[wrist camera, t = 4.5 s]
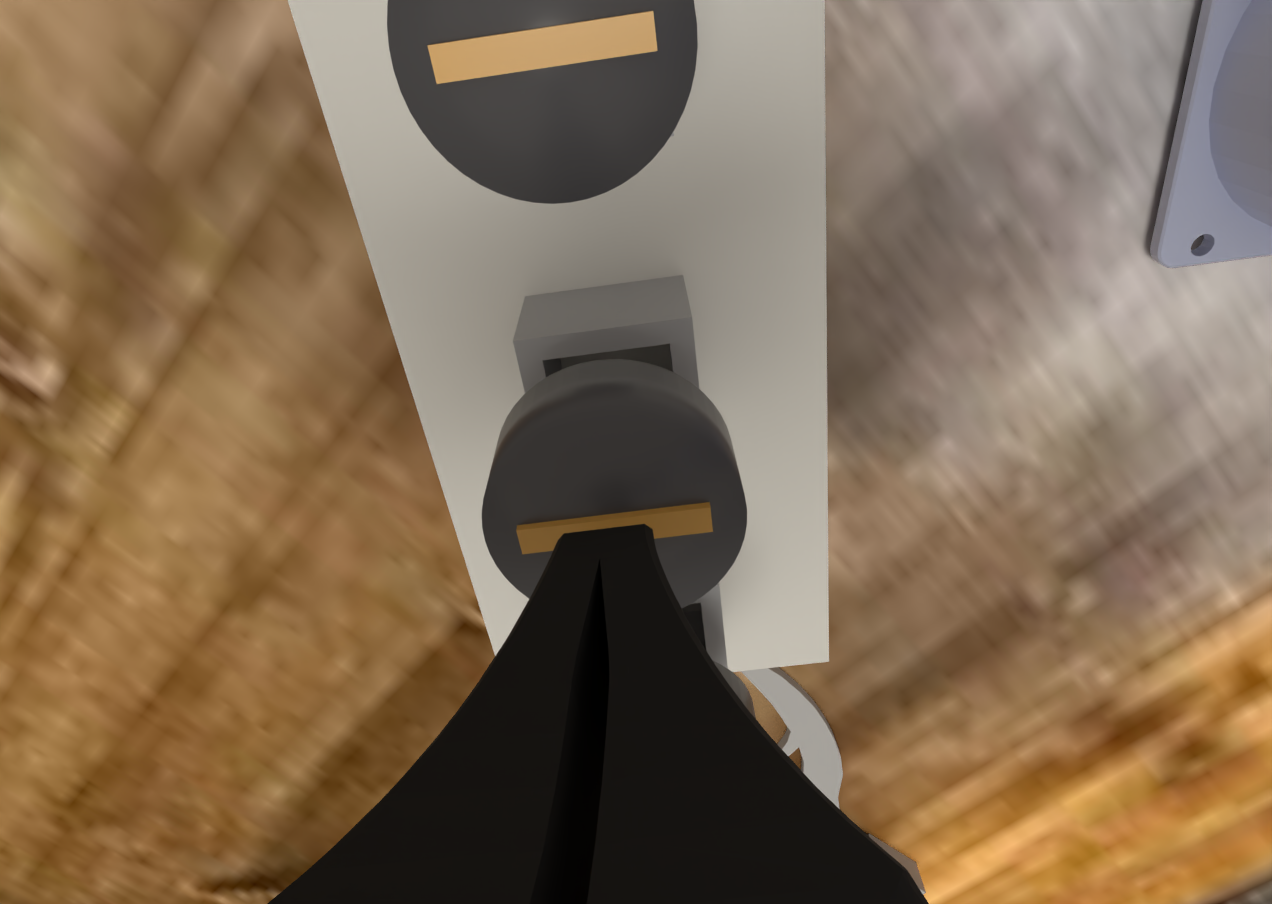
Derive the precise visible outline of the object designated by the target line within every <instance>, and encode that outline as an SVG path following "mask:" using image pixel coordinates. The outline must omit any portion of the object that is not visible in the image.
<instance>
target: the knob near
mask: <svg viewBox="0 0 1272 904" xmlns="http://www.w3.org/2000/svg"><path fill="white" fill-rule="evenodd" d="M387 32H388V43H389V51H390V56H391V60H392V65H393V70H394V73H395V76H396V79H397V82H398V85H399V88H400V91H401V94H402V96H403V98H404V100H405V102H406V105H407V107H408V109H409V111H410V113H411V115H412V116H413V118H414V120H415V121H416V123H417V125H418V126H419V128H420V129H421V131H422V132H423V134H424V135H425V136H426V137H427V139H428V140H429V141H430V143H431V144H432V145H433V147H434V148H435V149H436V150H437V151H438V152H439V153H440V154H441V155H442V156H443V157H444V158H445V159H446V160H447V161H448V162H449V163H450V164H452V165H453V166H454V167H455V168H456V169H458V170H459V171H460V172H461V173H463V174H464V175H465V176H467V177H469V178H470V179H472V180H473V181H475V182H476V183H478V184H480V185H481V186H483V187H486V188H488V189H490V190H492V191H494V192H496V193H498V194H501V195H504V196H508V197H511V198H514V199H517V200H522V201H528V202H533V203H546V204H557V203H571V202H576V201H580V200H585V199H589V198H592V197H595V196H598V195H601V194H603V193H606V192H608V191H610V190H612V189H614V188H616V187H618V186H620V185H622V184H623V183H625V182H626V181H627V180H629V179H630V178H632V177H633V176H635V175H636V174H637V173H639V172H640V171H641V170H642V169H643V168H644V167H645V166H646V165H647V164H648V163H650V162H651V161H652V160H653V158H654V157H655V156H656V155H657V154H658V152H659V151H660V150H661V149H662V148H663V147H664V145H665V144H666V142H667V141H668V139H669V138H670V136H671V134H672V133H673V131H674V130H675V128H676V126H677V124H678V122H679V120H680V118H681V116H682V114H683V112H684V109H685V106H686V103H687V101H688V98H689V95H690V92H691V88H692V83H693V79H694V74H695V69H696V59H697V49H698V40H697V20H696V12H695V5H694V0H388V5H387Z"/></svg>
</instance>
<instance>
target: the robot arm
mask: <svg viewBox="0 0 1272 904" xmlns="http://www.w3.org/2000/svg"><path fill="white" fill-rule="evenodd" d="M1201 235H1204V239H1203V241H1202V243H1201V245H1200V246H1198V247H1197V248H1196V249H1194V250H1191V246H1192V244H1193V242H1194V240H1195V239H1197V238H1198V237H1199V236H1201ZM1150 254H1151V256H1152V258H1153V260H1154V261H1156V262H1158V263H1160V264H1161V265H1163V266H1165V267H1167V268H1178V267H1186V266H1194V265H1201V264H1209V263H1216V262H1224V261H1232V260H1239V259H1247V258H1254V257H1262V256H1270V255H1272V0H1203V1H1202V6H1201V11H1200V16H1199V20H1198V25H1197V30H1196V34H1195V39H1194V44H1193V49H1192V53H1191V58H1190V63H1189V67H1188V72H1187V77H1186V82H1185V86H1184V91H1183V96H1182V100H1181V105H1180V110H1179V115H1178V119H1177V124H1176V129H1175V133H1174V138H1173V143H1172V148H1171V152H1170V157H1169V162H1168V166H1167V171H1166V176H1165V181H1164V185H1163V190H1162V195H1161V199H1160V204H1159V209H1158V214H1157V218H1156V223H1155V228H1154V232H1153V237H1152V242H1151V247H1150ZM268 904H928V902H927V900H926V899H925V897H924V896H923V894H922V892H921V891H920V889H919V888H918V886H917V884H916V883H915V881H914V880H913V878H912V876H911V875H910V873H909V872H908V870H907V869H906V868H905V867H904V866H902V865H901V864H900V863H899V862H898V861H897V860H896V859H894V858H893V857H892V856H891V855H890V854H889V853H887V852H886V851H885V850H884V849H883V848H882V847H880V846H879V845H878V844H877V843H876V842H875V841H873V840H872V839H871V838H870V837H869V836H868V835H867V834H866V833H865V832H863V831H862V830H861V829H860V828H859V827H858V826H857V825H856V824H855V823H854V822H852V821H851V820H850V819H849V818H848V817H847V816H846V815H845V814H844V813H843V812H842V811H841V810H840V809H839V808H838V807H837V806H836V805H835V804H834V803H833V802H832V801H831V800H830V799H828V798H827V797H826V796H825V795H824V794H823V793H822V792H821V791H820V790H819V789H818V788H817V787H816V786H815V785H814V784H813V783H812V782H811V781H810V780H809V778H808V777H807V776H806V775H805V774H804V773H803V772H802V771H801V770H800V769H799V768H798V766H797V765H796V764H795V763H794V762H793V761H792V760H791V759H790V758H789V757H788V756H787V754H786V753H785V752H784V751H783V750H782V749H781V748H780V747H779V746H778V745H777V744H776V743H775V741H774V740H773V739H772V738H771V737H770V736H769V735H768V734H767V732H766V731H765V730H764V729H763V727H762V726H761V725H760V724H759V723H758V721H757V720H756V719H755V718H754V716H753V715H752V714H751V713H750V711H749V710H748V709H747V708H746V707H745V705H744V704H743V703H742V701H741V700H740V699H739V697H738V696H737V695H736V693H735V692H734V691H733V689H732V688H731V687H730V685H729V684H728V682H727V681H726V680H725V678H724V677H723V675H722V674H721V672H720V671H719V670H718V668H717V667H716V665H715V664H714V662H713V661H712V659H711V657H710V656H709V654H708V653H707V651H706V650H705V648H704V646H703V645H702V643H701V642H700V640H699V638H698V637H697V635H696V633H695V632H694V630H693V628H692V627H691V625H690V623H689V621H688V619H687V618H686V616H685V614H684V612H683V610H682V608H681V606H680V604H679V602H678V600H677V599H676V597H675V595H674V593H673V591H672V588H671V586H670V584H669V582H668V580H667V577H666V575H665V572H664V570H663V568H662V565H661V562H660V560H659V557H658V554H657V550H656V547H655V541H654V534H653V529H652V528H650V527H649V526H647V525H646V524H638V525H630V526H621V527H613V528H605V529H596V530H588V531H580V532H572V533H564V534H563V535H562V536H561V537H560V538H559V539H558V541H557V543H556V545H555V548H554V550H553V552H552V555H551V557H550V559H549V561H548V563H547V565H546V567H545V570H544V572H543V574H542V576H541V578H540V580H539V582H538V583H537V585H536V587H535V589H534V591H533V593H532V595H531V597H530V599H529V601H528V602H527V604H526V606H525V608H524V609H523V611H522V613H521V615H520V616H519V618H518V620H517V622H516V623H515V625H514V627H513V629H512V631H511V632H510V634H509V636H508V637H507V639H506V641H505V642H504V644H503V645H502V647H501V648H500V650H499V651H498V653H497V654H496V656H495V658H494V659H493V661H492V662H491V664H490V665H489V667H488V668H487V670H486V671H485V673H484V674H483V676H482V677H481V679H480V681H479V682H478V683H477V685H476V686H475V688H474V689H473V690H472V692H471V693H470V695H469V696H468V697H467V699H466V700H465V702H464V703H463V704H462V706H461V707H460V708H459V710H458V711H457V712H456V714H455V715H454V716H453V717H452V719H451V720H450V721H449V723H448V724H447V725H446V726H445V728H444V729H443V730H442V731H441V733H440V734H439V735H438V736H437V738H436V739H435V740H434V741H433V742H432V744H431V745H430V746H429V747H428V748H427V749H426V751H425V752H424V753H423V754H422V755H421V756H420V758H419V759H418V760H417V761H416V762H415V763H414V764H413V766H412V767H411V768H410V769H409V770H408V771H407V773H406V774H405V775H404V776H403V777H402V778H401V779H400V780H399V781H398V783H397V784H396V785H395V786H394V787H393V788H392V789H391V790H390V791H389V792H388V793H387V794H386V795H385V796H384V798H383V799H382V800H381V801H380V802H379V803H378V804H377V805H376V806H375V807H374V808H373V809H372V810H371V811H369V812H368V813H367V814H366V815H365V816H364V817H363V818H362V819H361V820H360V821H359V822H358V823H357V824H356V825H355V826H354V827H353V828H352V829H351V830H350V831H349V832H348V833H347V834H346V835H345V836H344V837H343V838H342V839H341V840H340V841H339V842H338V843H337V844H336V845H335V846H334V847H333V848H332V849H331V850H329V851H328V852H327V853H326V854H325V855H324V856H323V857H322V858H321V859H320V860H318V861H317V862H316V863H315V864H314V865H313V866H312V867H311V868H309V869H308V870H307V871H306V872H305V873H304V874H303V875H301V876H300V877H299V878H298V879H297V880H295V881H294V882H293V883H292V884H291V885H289V886H288V887H287V888H286V889H285V890H283V891H282V892H281V893H280V894H279V895H277V896H276V897H275V898H274V899H273V900H271V901H270V902H269V903H268Z"/></svg>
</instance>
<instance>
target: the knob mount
mask: <svg viewBox="0 0 1272 904" xmlns="http://www.w3.org/2000/svg"><path fill="white" fill-rule="evenodd" d="M288 3H289V6H290V9H291V13H292V16H293V19H294V22H295V25H296V28H297V32H298V35H299V38H300V41H301V44H302V47H303V50H304V54H305V57H306V60H307V63H308V66H309V69H310V73H311V76H312V79H313V82H314V85H315V88H316V92H317V95H318V98H319V101H320V104H321V107H322V110H323V114H324V117H325V120H326V123H327V126H328V129H329V133H330V136H331V139H332V142H333V145H334V148H335V152H336V155H337V158H338V161H339V164H340V167H341V170H342V174H343V177H344V180H345V183H346V186H347V189H348V193H349V196H350V199H351V202H352V205H353V208H354V212H355V215H356V218H357V221H358V224H359V227H360V230H361V234H362V237H363V240H364V243H365V246H366V249H367V253H368V256H369V259H370V262H371V265H372V268H373V272H374V275H375V278H376V281H377V284H378V287H379V290H380V294H381V297H382V300H383V303H384V306H385V309H386V313H387V316H388V319H389V322H390V325H391V328H392V332H393V335H394V338H395V341H396V344H397V347H398V350H399V354H400V357H401V360H402V363H403V366H404V369H405V373H406V376H407V379H408V382H409V385H410V388H411V392H412V395H413V398H414V401H415V404H416V407H417V410H418V414H419V417H420V420H421V423H422V426H423V429H424V433H425V436H426V439H427V442H428V445H429V448H430V452H431V455H432V458H433V461H434V464H435V467H436V470H437V474H438V477H439V480H440V483H441V486H442V489H443V493H444V496H445V499H446V502H447V505H448V508H449V512H450V515H451V518H452V521H453V524H454V527H455V530H456V534H457V537H458V540H459V543H460V546H461V549H462V553H463V556H464V559H465V562H466V565H467V568H468V572H469V575H470V578H471V581H472V584H473V587H474V590H475V594H476V597H477V600H478V603H479V606H480V609H481V613H482V616H483V619H484V622H485V625H486V628H487V632H488V635H489V638H490V641H491V644H492V647H493V650H494V654H495V656H496V654H497V653H498V651H499V650H500V648H501V647H502V645H503V644H504V642H505V641H506V639H507V637H508V636H509V634H510V632H511V631H512V629H513V627H514V625H515V623H516V622H517V620H518V618H519V616H520V615H521V613H522V611H523V609H524V608H525V606H526V604H527V602H528V601H529V598H527V597H526V596H525V595H524V594H522V593H521V592H520V591H518V590H517V589H516V588H515V587H514V586H513V585H512V584H511V583H510V582H509V581H508V580H507V579H506V578H505V577H504V575H503V574H502V573H501V571H500V570H499V569H498V567H497V566H496V564H495V562H494V561H493V559H492V557H491V555H490V553H489V550H488V548H487V545H486V542H485V539H484V534H483V529H482V506H483V498H484V494H485V490H486V486H487V482H488V478H489V474H490V470H491V466H492V462H493V458H494V454H495V450H496V446H497V442H498V438H499V435H500V431H501V428H502V426H503V424H504V422H505V420H506V418H507V416H508V414H509V413H510V411H511V410H512V408H513V407H514V405H515V404H516V403H517V402H518V401H519V399H520V398H521V397H522V396H523V395H524V394H525V393H526V392H527V391H528V390H530V389H531V388H532V387H533V386H534V385H536V384H537V383H538V382H540V381H541V380H543V379H545V378H546V377H548V376H549V375H551V374H553V373H556V372H558V371H560V370H562V369H564V368H567V367H570V366H573V365H576V364H580V363H584V362H590V361H595V360H606V359H623V360H634V361H640V362H645V363H649V364H652V365H656V366H659V367H662V368H665V369H667V370H669V371H671V372H674V373H676V374H678V375H680V376H681V377H683V378H685V379H686V380H688V381H689V382H691V383H692V384H693V385H695V386H696V387H697V388H698V389H700V390H701V391H702V392H703V393H704V394H705V395H706V396H707V397H708V398H709V399H710V400H711V401H712V402H713V404H714V405H715V407H716V408H717V410H718V411H719V412H720V414H721V416H722V418H723V420H724V422H725V424H726V426H727V428H728V431H729V434H730V437H731V441H732V445H733V449H734V453H735V457H736V461H737V466H738V470H739V474H740V478H741V482H742V486H743V490H744V494H745V500H746V506H747V527H746V532H745V538H744V541H743V544H742V547H741V550H740V552H739V554H738V556H737V558H736V560H735V562H734V564H733V565H732V567H731V568H730V569H729V571H728V572H727V574H726V575H725V576H724V577H723V578H722V579H721V580H720V581H719V583H718V584H717V585H716V586H715V587H713V588H712V589H711V590H710V591H709V592H707V593H706V594H705V595H704V596H702V597H701V598H699V599H698V600H696V601H695V602H693V603H691V604H690V605H688V606H686V607H684V608H682V610H683V612H684V614H685V616H686V618H687V619H688V621H689V623H690V625H691V627H692V628H693V630H694V632H695V633H696V635H697V637H698V638H699V640H700V642H701V643H702V645H703V646H704V648H705V650H706V651H707V653H708V654H709V656H710V657H711V659H712V660H713V661H715V662H717V663H719V664H721V665H723V666H724V667H726V668H727V669H729V670H730V671H732V672H738V671H747V670H756V669H765V668H774V667H783V666H793V665H802V664H811V663H820V662H829V614H828V456H827V298H826V140H825V0H694V5H695V12H696V20H697V40H698V49H697V59H696V69H695V74H694V79H693V83H692V88H691V92H690V95H689V98H688V101H687V103H686V106H685V109H684V112H683V114H682V116H681V118H680V120H679V122H678V124H677V126H676V128H675V130H674V131H673V133H672V134H671V136H670V138H669V139H668V141H667V142H666V144H665V145H664V147H663V148H662V149H661V150H660V151H659V152H658V154H657V155H656V156H655V157H654V158H653V160H652V161H651V162H650V163H648V164H647V165H646V166H645V167H644V168H643V169H642V170H641V171H640V172H639V173H637V174H636V175H635V176H633V177H632V178H630V179H629V180H627V181H626V182H625V183H623V184H622V185H620V186H618V187H616V188H614V189H612V190H610V191H608V192H606V193H603V194H601V195H598V196H595V197H592V198H589V199H585V200H580V201H576V202H571V203H557V204H546V203H533V202H528V201H522V200H517V199H514V198H511V197H508V196H504V195H501V194H498V193H496V192H494V191H492V190H490V189H488V188H486V187H483V186H481V185H480V184H478V183H476V182H475V181H473V180H472V179H470V178H469V177H467V176H465V175H464V174H463V173H461V172H460V171H459V170H458V169H456V168H455V167H454V166H453V165H452V164H450V163H449V162H448V161H447V160H446V159H445V158H444V157H443V156H442V155H441V154H440V153H439V152H438V151H437V150H436V149H435V148H434V147H433V145H432V144H431V143H430V141H429V140H428V139H427V137H426V136H425V135H424V134H423V132H422V131H421V129H420V128H419V126H418V125H417V123H416V121H415V120H414V118H413V116H412V115H411V113H410V111H409V109H408V107H407V105H406V102H405V100H404V98H403V96H402V94H401V91H400V88H399V85H398V82H397V79H396V76H395V73H394V70H393V65H392V60H391V56H390V51H389V43H388V32H387V5H388V0H288Z"/></svg>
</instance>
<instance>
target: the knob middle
mask: <svg viewBox="0 0 1272 904" xmlns="http://www.w3.org/2000/svg"><path fill="white" fill-rule="evenodd" d="M638 524H646V525H647V526H649V527H650V528H652V529H653V534H654V541H655V547H656V550H657V554H658V557H659V560H660V562H661V565H662V568H663V570H664V572H665V575H666V577H667V580H668V582H669V584H670V586H671V588H672V591H673V593H674V595H675V597H676V599H677V600H678V602H679V604H680V606H681V608H684V607H686V606H688V605H690V604H691V603H693V602H695V601H696V600H698V599H699V598H701V597H702V596H704V595H705V594H706V593H707V592H709V591H710V590H711V589H712V588H713V587H715V586H716V585H717V584H718V583H719V581H720V580H721V579H722V578H723V577H724V576H725V575H726V574H727V572H728V571H729V569H730V568H731V567H732V565H733V564H734V562H735V560H736V558H737V556H738V554H739V552H740V550H741V547H742V544H743V541H744V538H745V532H746V527H747V506H746V500H745V494H744V490H743V486H742V482H741V478H740V474H739V470H738V466H737V461H736V457H735V453H734V449H733V445H732V441H731V437H730V434H729V431H728V428H727V426H726V424H725V422H724V420H723V418H722V416H721V414H720V412H719V411H718V410H717V408H716V407H715V405H714V404H713V402H712V401H711V400H710V399H709V398H708V397H707V396H706V395H705V394H704V393H703V392H702V391H701V390H700V389H698V388H697V387H696V386H695V385H693V384H692V383H691V382H689V381H688V380H686V379H685V378H683V377H681V376H680V375H678V374H676V373H674V372H671V371H669V370H667V369H665V368H662V367H659V366H656V365H652V364H649V363H645V362H640V361H634V360H623V359H606V360H595V361H590V362H584V363H580V364H576V365H573V366H570V367H567V368H564V369H562V370H560V371H558V372H556V373H553V374H551V375H549V376H548V377H546V378H545V379H543V380H541V381H540V382H538V383H537V384H536V385H534V386H533V387H532V388H531V389H530V390H528V391H527V392H526V393H525V394H524V395H523V396H522V397H521V398H520V399H519V401H518V402H517V403H516V404H515V405H514V407H513V408H512V410H511V411H510V413H509V414H508V416H507V418H506V420H505V422H504V424H503V426H502V428H501V431H500V435H499V438H498V442H497V446H496V450H495V454H494V458H493V462H492V466H491V470H490V474H489V478H488V482H487V486H486V490H485V494H484V498H483V506H482V529H483V534H484V539H485V542H486V545H487V548H488V550H489V553H490V555H491V557H492V559H493V561H494V562H495V564H496V566H497V567H498V569H499V570H500V571H501V573H502V574H503V575H504V577H505V578H506V579H507V580H508V581H509V582H510V583H511V584H512V585H513V586H514V587H515V588H516V589H517V590H518V591H520V592H521V593H522V594H524V595H525V596H526V597H527V598H529V599H530V597H531V595H532V593H533V591H534V589H535V587H536V585H537V583H538V582H539V580H540V578H541V576H542V574H543V572H544V570H545V567H546V565H547V563H548V561H549V559H550V557H551V555H552V552H553V550H554V548H555V545H556V543H557V541H558V539H559V538H560V537H561V536H562V535H563V534H564V533H572V532H580V531H588V530H596V529H605V528H613V527H621V526H630V525H638Z"/></svg>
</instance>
